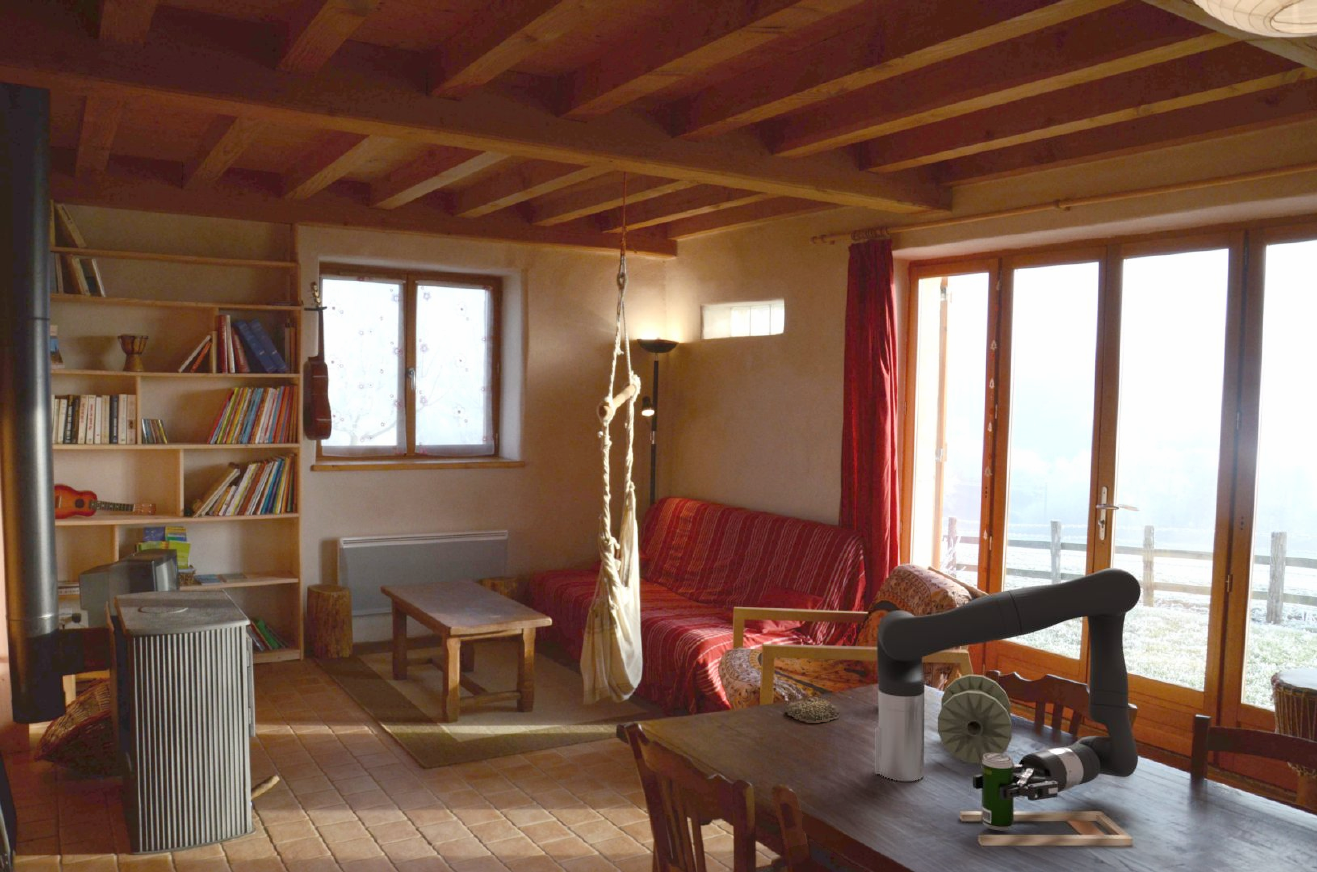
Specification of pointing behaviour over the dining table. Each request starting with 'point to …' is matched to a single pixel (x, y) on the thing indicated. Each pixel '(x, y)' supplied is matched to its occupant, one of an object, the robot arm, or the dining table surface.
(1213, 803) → the dining table surface
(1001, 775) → the beer can
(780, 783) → the dining table surface
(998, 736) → the spool
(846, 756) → the dining table surface
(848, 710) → the dining table surface
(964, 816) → the frame
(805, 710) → the speckled domed shell
